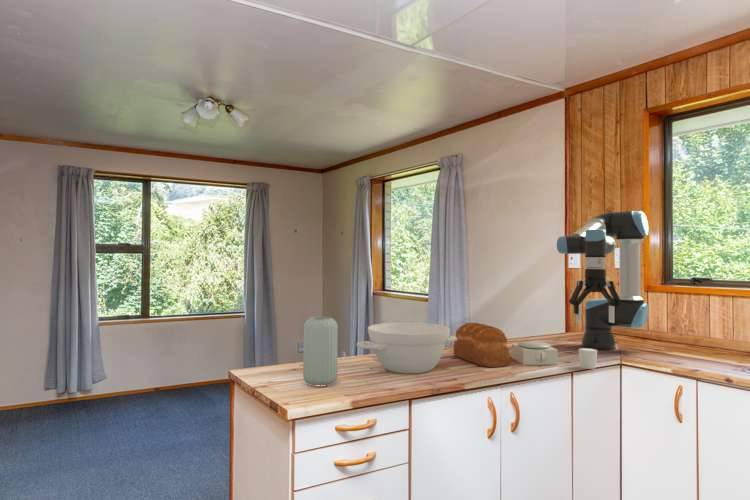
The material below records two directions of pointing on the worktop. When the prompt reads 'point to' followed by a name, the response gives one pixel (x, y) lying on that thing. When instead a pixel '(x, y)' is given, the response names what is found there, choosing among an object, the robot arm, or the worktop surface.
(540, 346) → the kitchen scale
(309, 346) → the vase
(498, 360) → the bread
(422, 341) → the pot
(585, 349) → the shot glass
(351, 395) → the worktop surface
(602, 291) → the robot arm
